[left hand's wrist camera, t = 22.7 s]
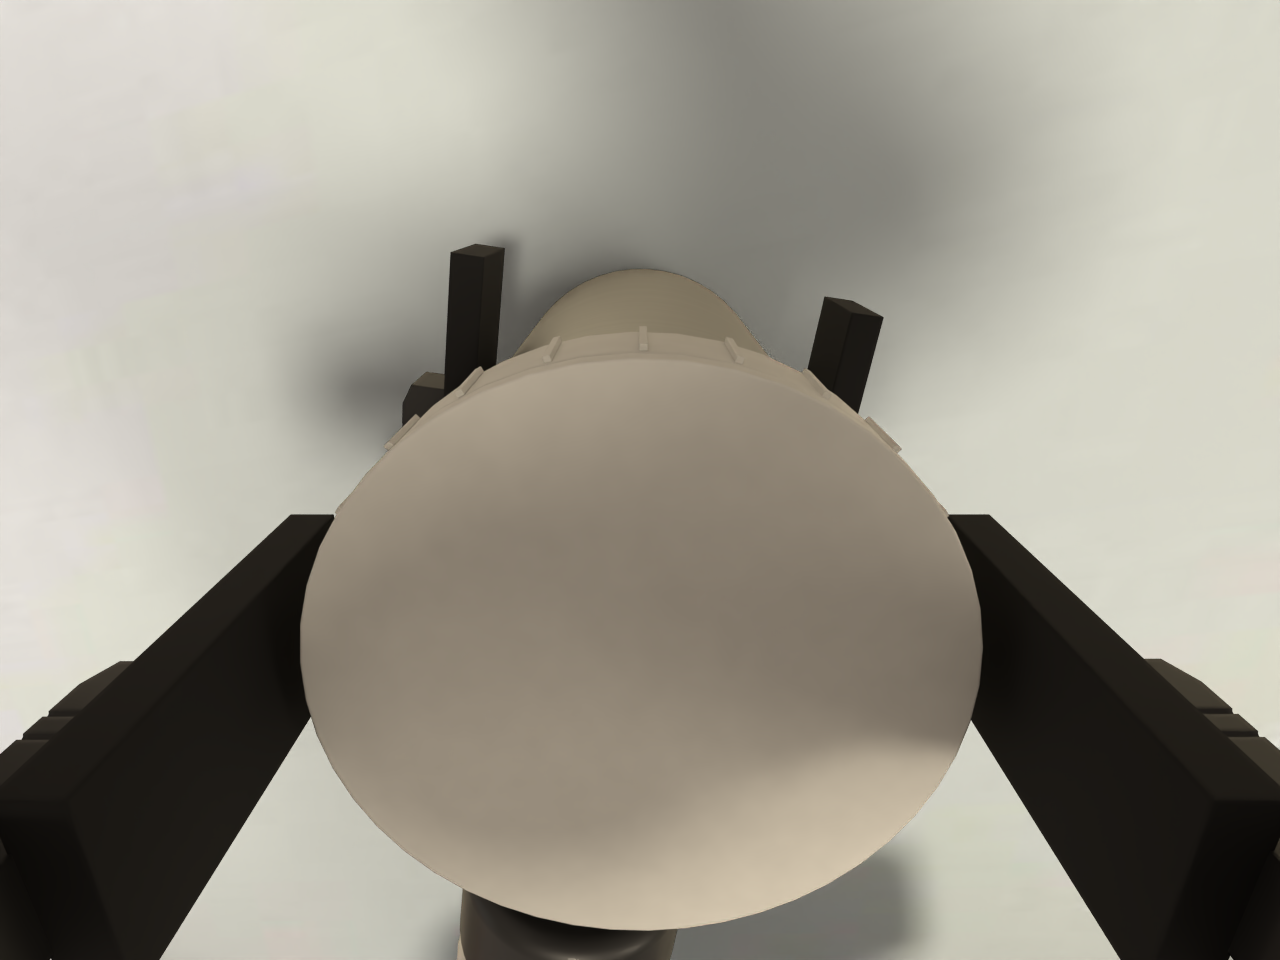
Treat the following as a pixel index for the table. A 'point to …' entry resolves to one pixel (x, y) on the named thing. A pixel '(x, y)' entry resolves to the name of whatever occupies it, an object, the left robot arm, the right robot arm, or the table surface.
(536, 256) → the table surface
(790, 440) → the lid
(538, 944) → the right robot arm
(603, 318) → the jar
